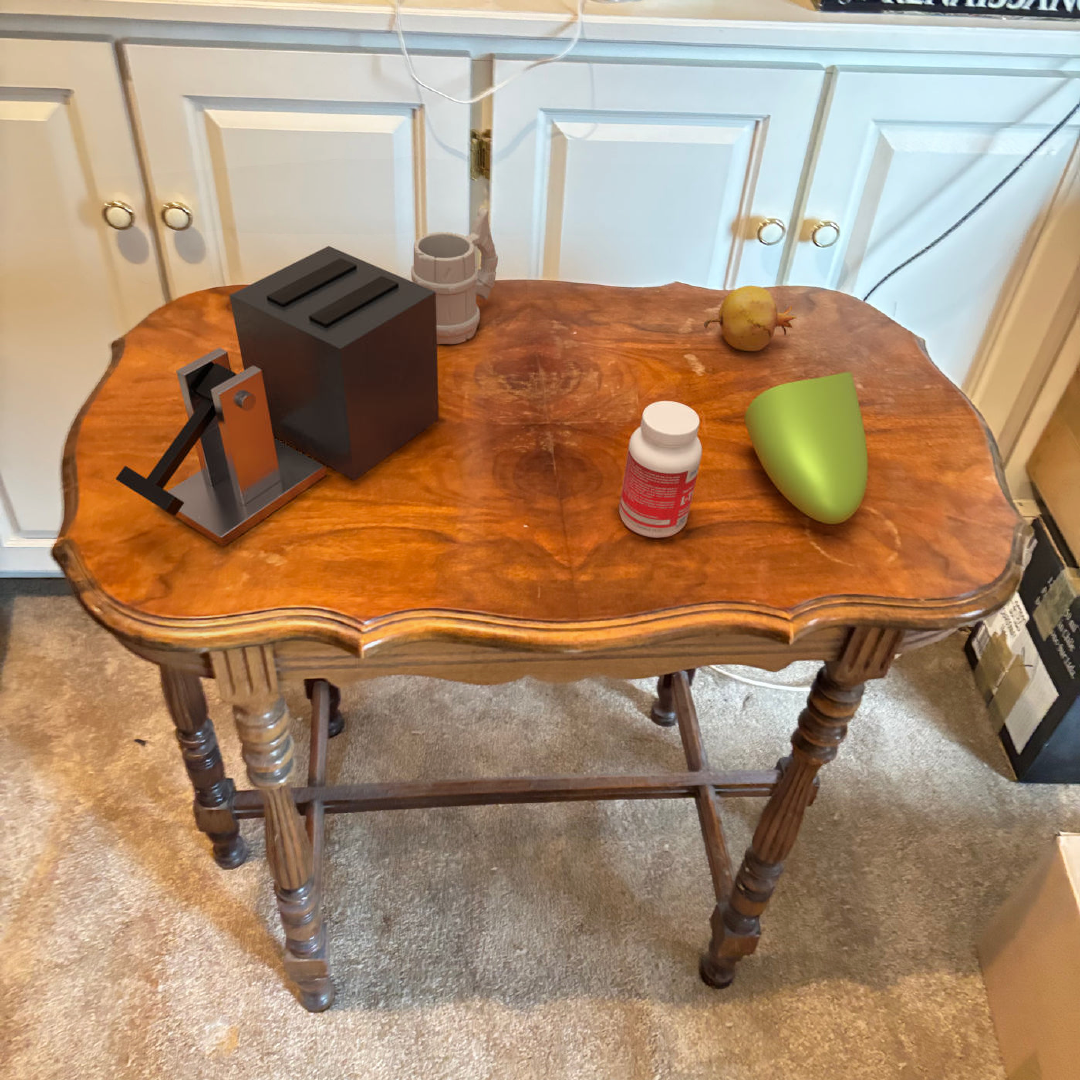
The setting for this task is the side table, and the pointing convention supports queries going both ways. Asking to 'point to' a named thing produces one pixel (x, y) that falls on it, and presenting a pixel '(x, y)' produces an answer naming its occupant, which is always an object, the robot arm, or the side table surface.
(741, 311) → the fruit
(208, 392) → the lever
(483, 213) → the mug
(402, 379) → the toaster
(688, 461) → the pill bottle
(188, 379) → the lever bracket
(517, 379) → the side table surface
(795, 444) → the green rounded cone
